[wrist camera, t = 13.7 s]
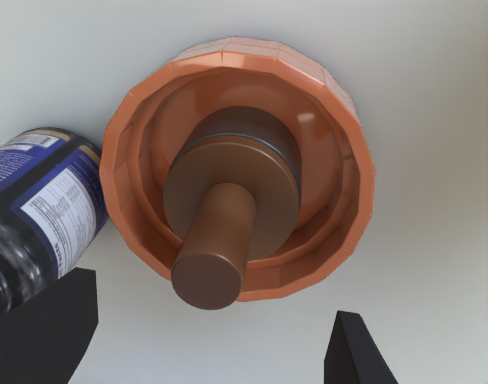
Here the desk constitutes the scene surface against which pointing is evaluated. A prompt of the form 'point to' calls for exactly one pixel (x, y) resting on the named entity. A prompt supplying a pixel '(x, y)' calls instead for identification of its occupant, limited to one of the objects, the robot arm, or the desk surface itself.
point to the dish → (255, 96)
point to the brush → (230, 201)
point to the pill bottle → (46, 209)
